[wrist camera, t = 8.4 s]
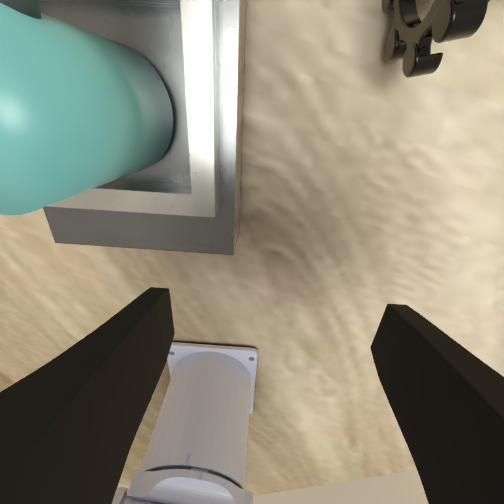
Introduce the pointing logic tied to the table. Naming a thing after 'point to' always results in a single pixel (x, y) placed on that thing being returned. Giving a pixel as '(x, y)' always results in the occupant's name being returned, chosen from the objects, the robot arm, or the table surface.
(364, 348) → the table surface
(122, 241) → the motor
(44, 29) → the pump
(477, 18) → the valve
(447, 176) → the table surface
